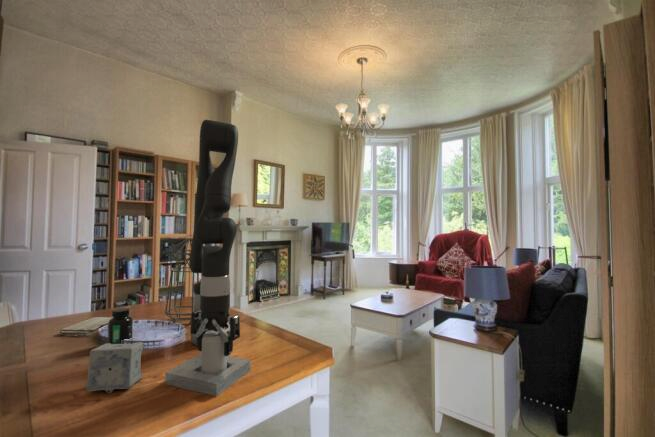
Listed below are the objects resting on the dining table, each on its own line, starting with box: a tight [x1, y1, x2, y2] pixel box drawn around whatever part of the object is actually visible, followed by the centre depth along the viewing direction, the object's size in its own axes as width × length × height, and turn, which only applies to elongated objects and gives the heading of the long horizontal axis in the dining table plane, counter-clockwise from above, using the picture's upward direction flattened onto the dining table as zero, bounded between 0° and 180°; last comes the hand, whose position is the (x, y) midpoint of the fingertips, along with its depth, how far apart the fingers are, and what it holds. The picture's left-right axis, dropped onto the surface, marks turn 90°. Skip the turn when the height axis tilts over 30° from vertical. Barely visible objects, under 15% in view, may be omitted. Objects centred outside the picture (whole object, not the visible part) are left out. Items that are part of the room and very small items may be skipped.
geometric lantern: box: [163, 237, 205, 326], centre depth 132 cm, size 16×16×35 cm
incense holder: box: [85, 341, 144, 394], centre depth 80 cm, size 10×8×10 cm
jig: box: [165, 352, 251, 397], centre depth 85 cm, size 16×14×3 cm
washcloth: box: [59, 316, 113, 337], centre depth 122 cm, size 12×18×3 cm, turn 178°
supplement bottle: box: [107, 307, 134, 344], centre depth 106 cm, size 7×7×12 cm
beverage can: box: [201, 331, 227, 376], centre depth 84 cm, size 6×6×12 cm
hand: (214, 352), depth 84 cm, fingers open, 8 cm apart
